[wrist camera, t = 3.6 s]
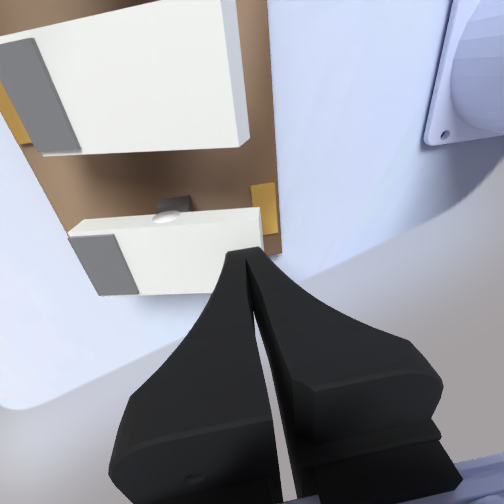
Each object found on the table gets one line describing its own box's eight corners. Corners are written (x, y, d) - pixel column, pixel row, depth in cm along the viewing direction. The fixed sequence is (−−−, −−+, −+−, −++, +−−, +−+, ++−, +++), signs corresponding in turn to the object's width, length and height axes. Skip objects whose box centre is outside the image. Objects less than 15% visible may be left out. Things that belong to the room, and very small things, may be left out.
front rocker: (238, -2, 8) (216, -15, 6) (252, 136, 10) (237, 148, 8) (27, 41, 10) (-21, 39, 9) (73, 146, 12) (39, 157, 11)
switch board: (259, -37, 11) (275, -71, 9) (278, 244, 18) (289, 272, 16) (-44, -5, 10) (-124, -31, 8) (99, 274, 18) (82, 307, 15)
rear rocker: (260, 203, 12) (258, 221, 11) (266, 270, 14) (265, 293, 12) (87, 216, 13) (65, 234, 11) (116, 277, 15) (100, 299, 13)
